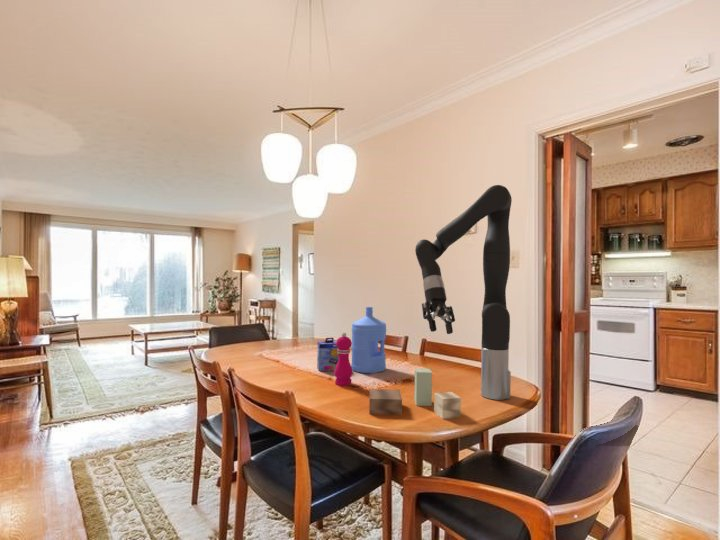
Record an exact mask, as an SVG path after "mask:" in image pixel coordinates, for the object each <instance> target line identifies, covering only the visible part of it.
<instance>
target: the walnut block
mask: <svg viewBox="0 0 720 540" xmlns="http://www.w3.org/2000/svg"><path fill="white" fill-rule="evenodd" d="M402 398H403V397H402V394H401V389H392V388H391V389H388V388H387V389H381V388H369V405H368V407H369V408H368V409H369V411H368V412H369V413H368V414H369V415H388V416H389V415H392V416H395V415H396V416H402V415H403V399H402Z"/></svg>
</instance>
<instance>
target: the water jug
mask: <svg viewBox="0 0 720 540" xmlns="http://www.w3.org/2000/svg"><path fill="white" fill-rule="evenodd" d="M373 309H374V308H373V307H371V306H366V307H365V316H363V317H362V318H360V319H357V320H356V321H354V322H352V324H351V325H352V326H351V342H352V344H351V347H350V350H351V363H350V365H351V367H352V370H353V371H354V372H356V373H359V372H361V373H360V374H377V373H376V372H379V373H382V372H384V371H386V368H387V366H386V365H387V364H386V358H387V357H386V355H387V354H386V353H385V341H386V338H387V324H386V322H384V321H381V320H379V319H378V318H376V317H374V315H373V313H374V311H373ZM379 342H380V344H379ZM379 345H380V347H379ZM379 348H380V349H379ZM381 371H382V372H381Z"/></svg>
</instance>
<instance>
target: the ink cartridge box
mask: <svg viewBox="0 0 720 540" xmlns="http://www.w3.org/2000/svg"><path fill="white" fill-rule="evenodd" d="M336 342H337V340H334V337H326V338H325V340H324V341H317V357H316V359H317V361H316V362H317V365H316V368H317V370H318V372H325V371H327V372H328V371H335V367H336V365H337V363H338V359H339V353H338V347H337V345H336Z"/></svg>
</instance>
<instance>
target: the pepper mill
mask: <svg viewBox="0 0 720 540" xmlns="http://www.w3.org/2000/svg"><path fill="white" fill-rule="evenodd" d="M336 341H337V342H336V345H337V347H338V353H339V359H338V363H337V365H336V367H335V370H333V373H334V376H335V377H336V378H335V385H337V386H340V387H347V386H350V385H352V378H351V377H352V376H353V375H354V374H353V373H354V372H353V371H354V370H352V367H351V363H350V353H351V347H352V339H351V338H350V337H348V336H347V333H346V332H342V333H341V336H340V337H338V339H337V340H336Z"/></svg>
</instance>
